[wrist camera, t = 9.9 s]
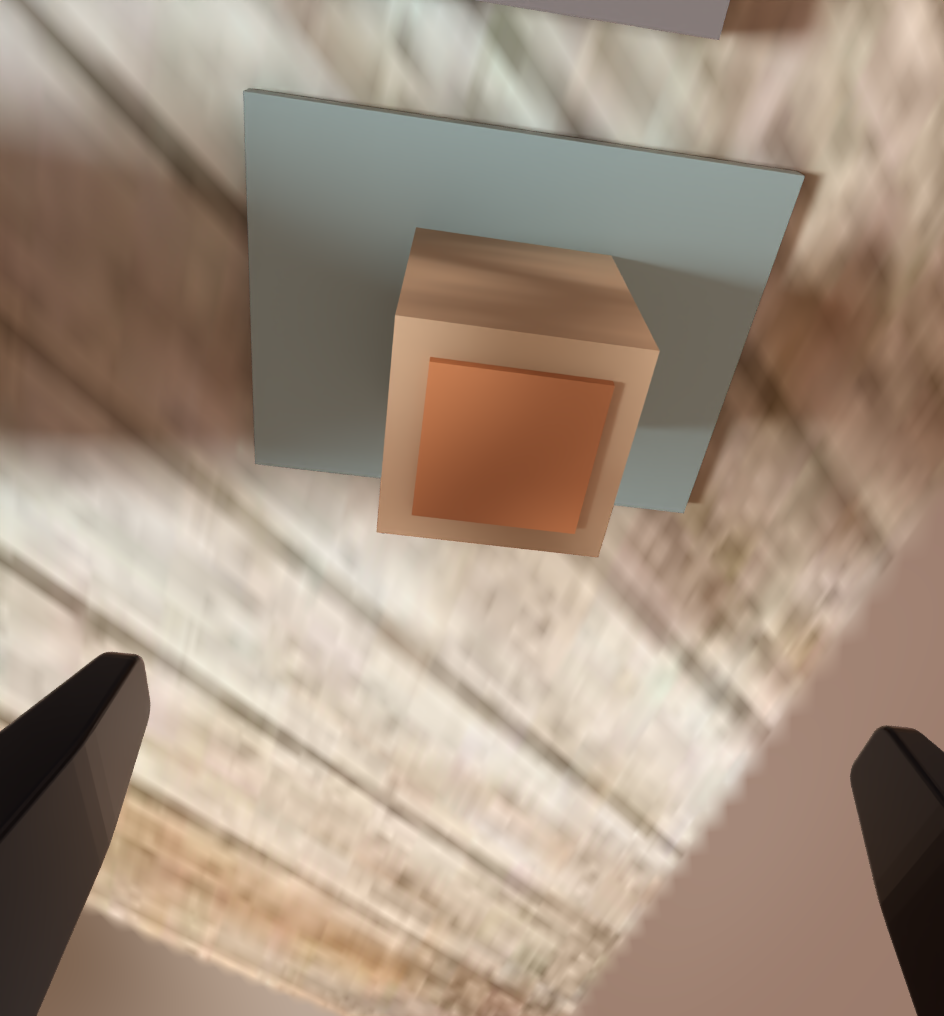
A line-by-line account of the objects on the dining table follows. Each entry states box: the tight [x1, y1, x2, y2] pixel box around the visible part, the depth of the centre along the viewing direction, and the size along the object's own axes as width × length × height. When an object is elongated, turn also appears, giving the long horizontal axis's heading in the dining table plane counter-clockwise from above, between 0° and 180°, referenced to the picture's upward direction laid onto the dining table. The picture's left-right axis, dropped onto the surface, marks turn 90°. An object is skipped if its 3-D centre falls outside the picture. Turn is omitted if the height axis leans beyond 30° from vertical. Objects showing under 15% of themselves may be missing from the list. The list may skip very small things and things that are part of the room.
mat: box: [243, 89, 805, 513], centre depth 19 cm, size 12×9×1 cm
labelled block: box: [377, 227, 660, 557], centre depth 16 cm, size 4×4×6 cm
